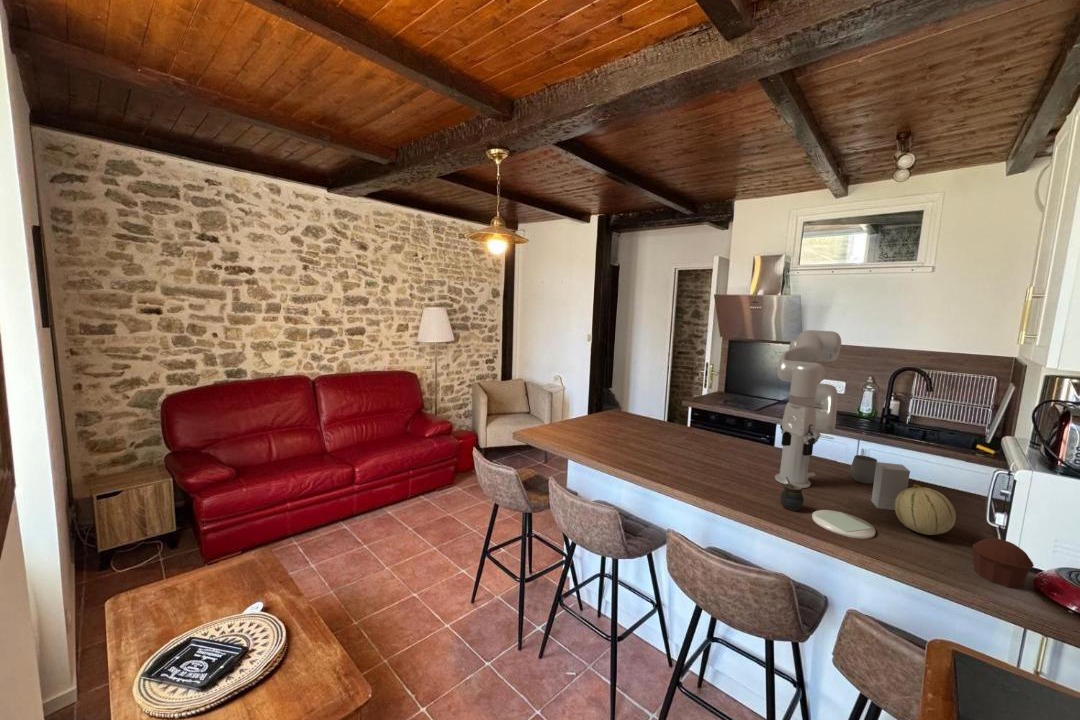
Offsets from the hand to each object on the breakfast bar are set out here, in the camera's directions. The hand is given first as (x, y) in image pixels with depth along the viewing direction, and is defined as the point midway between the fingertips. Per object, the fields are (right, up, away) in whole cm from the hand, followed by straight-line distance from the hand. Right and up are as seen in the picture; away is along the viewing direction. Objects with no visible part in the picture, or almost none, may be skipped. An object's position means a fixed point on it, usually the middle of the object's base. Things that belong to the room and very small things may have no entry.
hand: (796, 450), depth 149 cm
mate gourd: (+1, -22, +5) cm, 22 cm away
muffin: (+35, -28, -32) cm, 55 cm away
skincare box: (+38, -23, +9) cm, 46 cm away
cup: (+48, -20, +34) cm, 62 cm away
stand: (+12, -23, -6) cm, 27 cm away
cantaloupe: (+35, -25, -8) cm, 44 cm away
